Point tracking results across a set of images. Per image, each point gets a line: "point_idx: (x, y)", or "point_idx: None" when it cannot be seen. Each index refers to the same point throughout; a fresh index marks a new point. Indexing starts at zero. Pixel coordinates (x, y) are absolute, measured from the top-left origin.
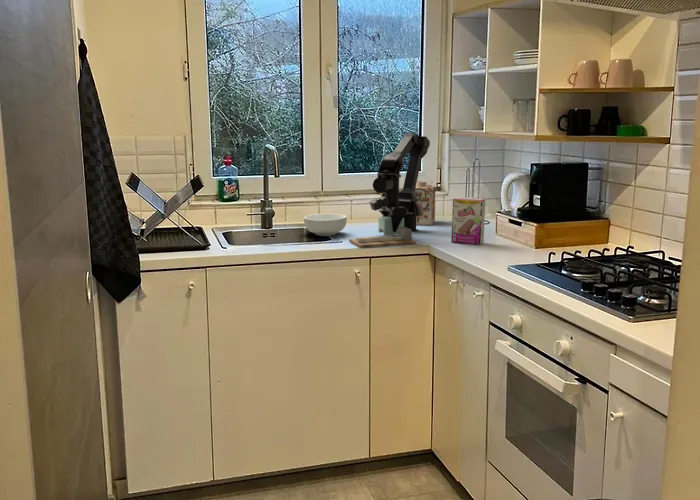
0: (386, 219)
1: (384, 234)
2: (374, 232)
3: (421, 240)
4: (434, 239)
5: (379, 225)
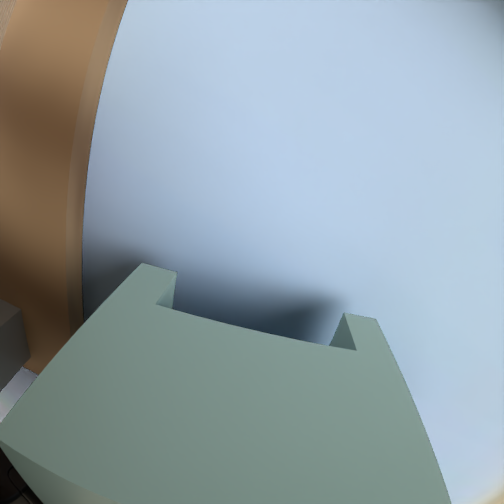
0: (13, 462)
1: (138, 266)
2: (486, 340)
3: (21, 395)
4: None
5: (363, 384)
